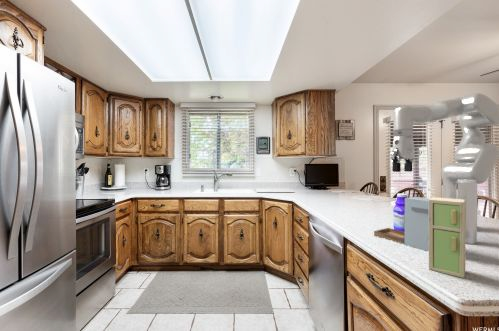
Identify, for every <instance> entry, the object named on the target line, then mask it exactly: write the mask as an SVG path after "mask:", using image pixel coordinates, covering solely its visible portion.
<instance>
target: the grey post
mask: <svg viewBox="0 0 499 331" xmlns="http://www.w3.org/2000/svg"><path fill="white" fill-rule="evenodd" d="M478 185H479V184H478V183H477V182H476V180H467V179H458V180H457V181H456V186H455V199H463V200H465V244H467V245H476V244H477V243H478Z"/></svg>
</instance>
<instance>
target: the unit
mask: <svg viewBox="0 0 499 331" xmlns="http://www.w3.org/2000/svg"><path fill="white" fill-rule="evenodd" d="M430 198H431V197H429V198H428V197H423V196H422V197H419V196H413V197H412V196H411V197H408V198H405V239H404V244H405V246H408V247H411V248H415V249H419V250H422V251H426V252H429V199H430Z"/></svg>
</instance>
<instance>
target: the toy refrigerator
mask: <svg viewBox="0 0 499 331" xmlns="http://www.w3.org/2000/svg"><path fill="white" fill-rule="evenodd" d="M429 198H430V199H429V251H428V270H430V271H435V272H438V273H442V274H447V275H449V276H454V277H458V278H461V279H462V278H463V279H464V278H465V275H466V243H465V200H463V199H451V198H443V197H438V196H437V197H436V196H432V197H429Z"/></svg>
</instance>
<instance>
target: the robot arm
mask: <svg viewBox="0 0 499 331" xmlns="http://www.w3.org/2000/svg"><path fill="white" fill-rule="evenodd" d="M457 116H458V117H459V118H458V124H459V127H460V129H461V132H462V137H461V140H460V142H459V144H458V146H457V147H456V149H455V152H454V154H453V160H454V161H455V162H450V163H447V164H444V165H443V166H442V168H441V169H440V176H441V181H442V190H443V192H442V193H443V194H442V198H451V199H455V186H456V181H457V180H458V179H467V180H476V182H477V183H478V185H479V184H483V183H485V182H486V181H487V180H488V179H489V178H490V176H491V174H492V172H493V170H494V167H495V166H496V165H497V163H498V161H499V149H498V146H496V145H494V144H492V143H485V142H486V140H487V139H486V135H485V134H484V133H483V131H481V130H480V128H481V127H482V128H483V127H490V126H497V125H499V104H498V103H496V102H495V101H494V100H493V99H491V98H490V97H488V95H485V94H483V93H477V92H476V93H472V94H468V95H464V96H460V97H455V98H451V99H447V100H446V99H445V100H442V101H437V102H433V103H431V104H427V105H423V106H422V105H421V106H406V105H404V106H399V107H396V108H395V109H393V140H392V151H391V152H390V157H391V158H390V159H391V162H392V172H393V173H394V172H396V173H398V172H399V173H400V172H401V160H404V164H403V166H404V167H403V168H404V169H403V170H404V172H413V163H414V158H415V143H414V125H419V124H425V123H427V122H436V121H441V120H446V119H449V118H455V117H457Z"/></svg>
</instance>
